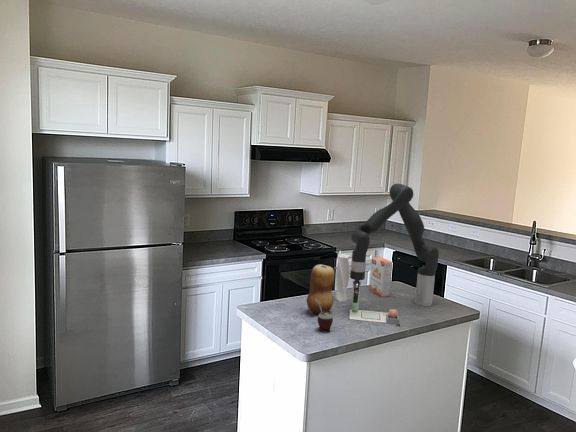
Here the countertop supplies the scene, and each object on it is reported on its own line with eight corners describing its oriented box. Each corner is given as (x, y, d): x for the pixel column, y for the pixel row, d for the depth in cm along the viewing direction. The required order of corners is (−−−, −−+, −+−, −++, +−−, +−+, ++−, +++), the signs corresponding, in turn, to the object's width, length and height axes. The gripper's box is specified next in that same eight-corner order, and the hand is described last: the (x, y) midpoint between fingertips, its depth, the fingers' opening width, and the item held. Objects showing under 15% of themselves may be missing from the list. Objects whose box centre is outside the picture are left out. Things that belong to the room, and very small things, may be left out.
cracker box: (368, 290, 287) (371, 256, 284) (377, 289, 289) (380, 256, 286) (381, 297, 274) (384, 262, 271) (390, 296, 276) (393, 261, 273)
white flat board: (349, 310, 250) (349, 303, 250) (397, 314, 246) (397, 308, 246) (348, 320, 234) (348, 314, 234) (399, 326, 231) (400, 319, 230)
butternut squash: (330, 319, 235) (333, 270, 232) (303, 316, 238) (306, 267, 234) (333, 310, 249) (336, 263, 245) (308, 307, 251) (311, 261, 248)
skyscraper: (331, 299, 266) (334, 250, 262) (342, 298, 270) (345, 249, 265) (338, 303, 259) (341, 253, 255) (350, 302, 262) (353, 253, 258)
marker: (351, 309, 248) (352, 290, 247) (358, 310, 248) (359, 291, 246) (350, 312, 244) (352, 292, 243) (358, 313, 244) (359, 293, 242)
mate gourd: (335, 330, 222) (337, 299, 219) (324, 334, 216) (326, 303, 214) (322, 325, 227) (324, 295, 224) (312, 329, 221) (313, 298, 219)
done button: (388, 314, 236) (388, 308, 235) (396, 315, 235) (397, 309, 235) (388, 317, 232) (389, 311, 232) (397, 317, 231) (397, 312, 231)
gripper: (365, 273, 235) (362, 305, 237) (365, 266, 249) (362, 296, 251) (350, 272, 236) (347, 303, 238) (350, 265, 250) (348, 295, 252)
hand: (355, 300), depth 245 cm, fingers open, 8 cm apart
